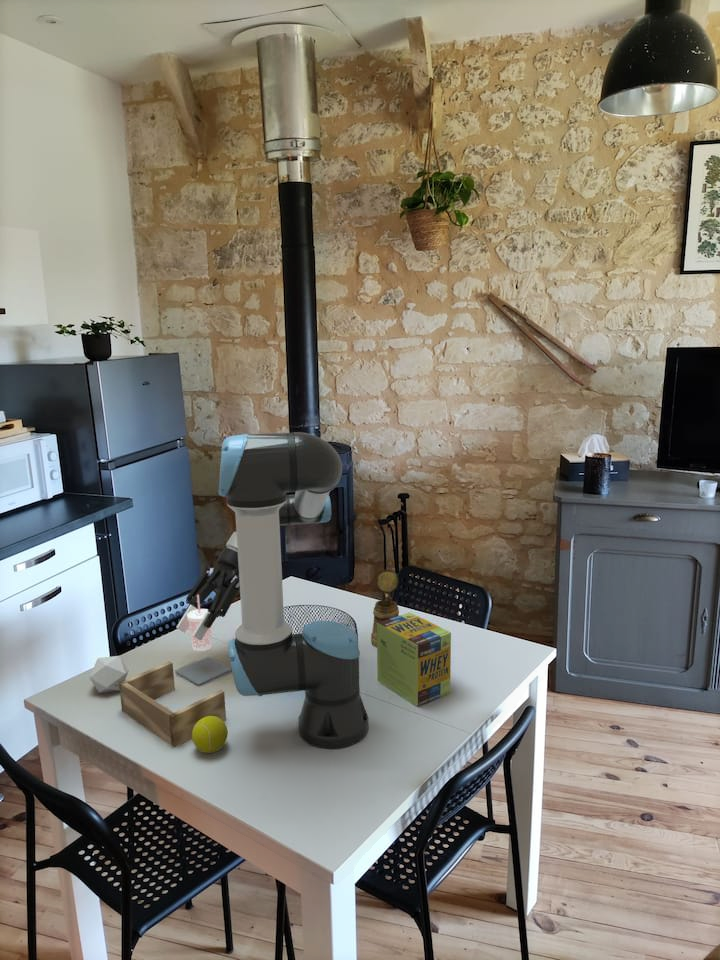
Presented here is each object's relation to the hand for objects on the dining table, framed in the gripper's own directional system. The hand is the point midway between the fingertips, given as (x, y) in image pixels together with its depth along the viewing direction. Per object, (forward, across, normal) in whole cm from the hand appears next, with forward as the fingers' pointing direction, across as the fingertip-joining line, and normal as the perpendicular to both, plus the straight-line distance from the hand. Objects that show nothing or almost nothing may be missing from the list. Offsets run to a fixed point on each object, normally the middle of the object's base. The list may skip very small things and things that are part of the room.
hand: (188, 633), depth 170 cm
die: (+20, +10, +3) cm, 22 cm away
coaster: (+6, 0, -10) cm, 12 cm away
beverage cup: (+1, 0, -6) cm, 6 cm away
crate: (+17, -12, +1) cm, 21 cm away
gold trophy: (-25, -24, -42) cm, 55 cm away
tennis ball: (+19, -29, +3) cm, 34 cm away
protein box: (-14, -45, -31) cm, 56 cm away
